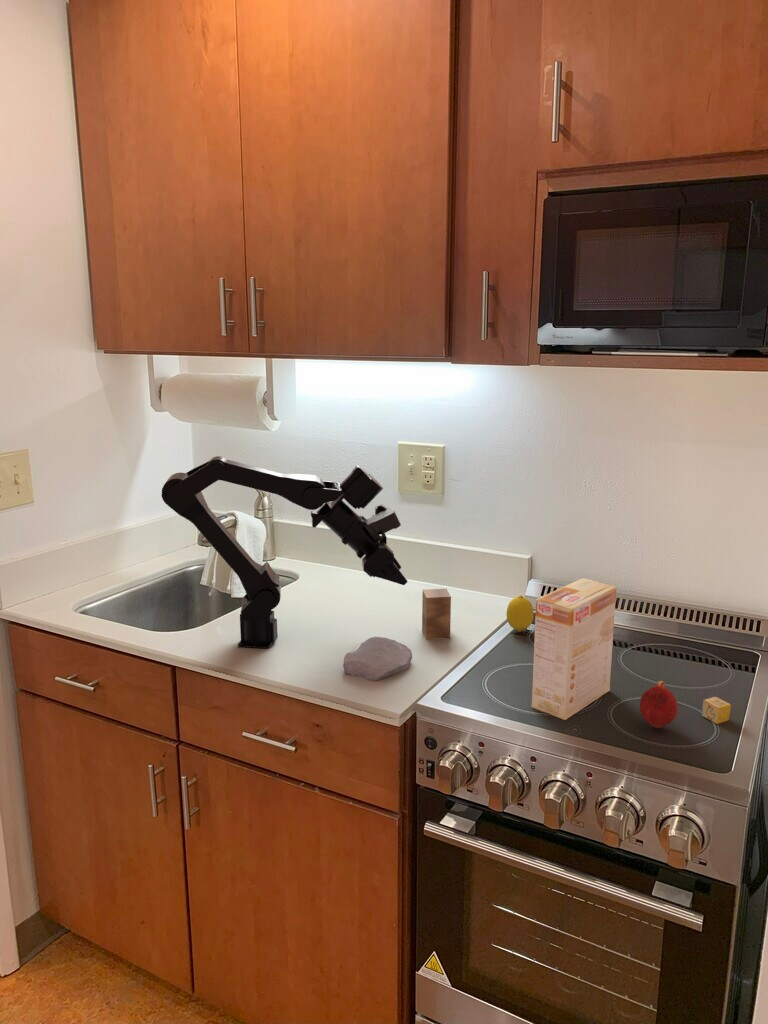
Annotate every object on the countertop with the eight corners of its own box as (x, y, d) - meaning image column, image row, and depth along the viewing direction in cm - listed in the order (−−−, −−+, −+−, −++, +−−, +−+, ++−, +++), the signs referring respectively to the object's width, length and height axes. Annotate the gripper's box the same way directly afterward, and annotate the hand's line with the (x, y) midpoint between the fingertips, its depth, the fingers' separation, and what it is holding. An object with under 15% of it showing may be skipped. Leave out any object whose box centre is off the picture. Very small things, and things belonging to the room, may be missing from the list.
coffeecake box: (575, 678, 148) (582, 576, 143) (611, 691, 143) (619, 586, 138) (529, 707, 137) (534, 598, 133) (565, 721, 133) (572, 608, 128)
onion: (675, 740, 127) (679, 692, 125) (636, 733, 129) (640, 686, 127) (676, 722, 132) (680, 677, 130) (639, 716, 134) (643, 671, 132)
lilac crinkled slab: (415, 670, 156) (371, 649, 160) (419, 648, 154) (375, 628, 159) (383, 696, 146) (337, 674, 151) (387, 674, 145) (341, 652, 149)
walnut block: (425, 639, 166) (426, 597, 163) (422, 630, 170) (422, 589, 168) (450, 638, 166) (451, 596, 164) (445, 629, 171) (446, 588, 169)
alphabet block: (714, 712, 136) (715, 695, 135) (729, 720, 133) (731, 703, 132) (701, 716, 134) (702, 699, 134) (716, 724, 132) (718, 707, 131)
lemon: (518, 639, 166) (520, 602, 164) (500, 630, 170) (501, 594, 168) (538, 633, 169) (540, 596, 167) (520, 624, 173) (521, 589, 171)
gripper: (381, 507, 151) (439, 561, 155) (371, 486, 169) (423, 535, 173) (339, 549, 152) (398, 602, 156) (334, 524, 170) (386, 572, 174)
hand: (402, 575), depth 164 cm, fingers open, 9 cm apart
